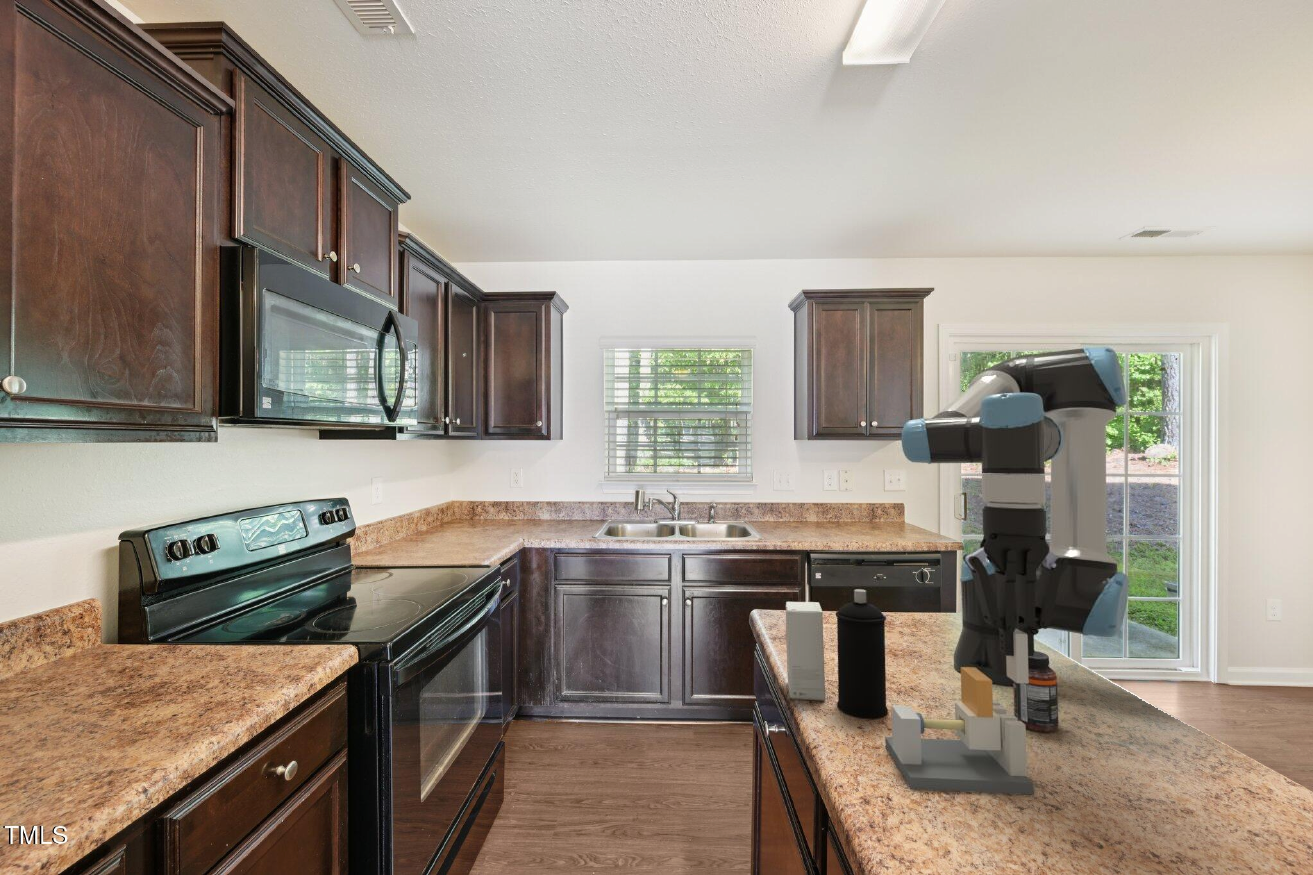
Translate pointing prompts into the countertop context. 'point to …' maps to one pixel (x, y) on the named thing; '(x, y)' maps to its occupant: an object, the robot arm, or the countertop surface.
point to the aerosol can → (861, 659)
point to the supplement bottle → (1037, 696)
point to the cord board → (958, 755)
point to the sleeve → (977, 712)
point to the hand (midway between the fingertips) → (1017, 679)
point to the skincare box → (805, 650)
